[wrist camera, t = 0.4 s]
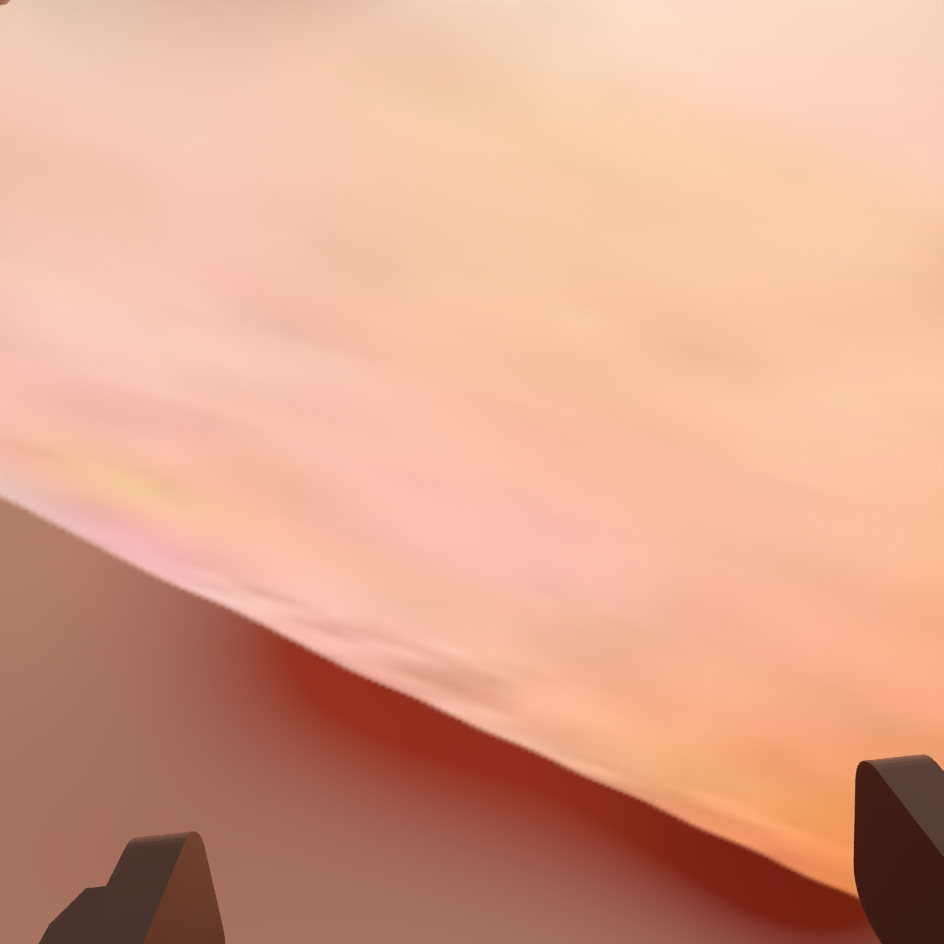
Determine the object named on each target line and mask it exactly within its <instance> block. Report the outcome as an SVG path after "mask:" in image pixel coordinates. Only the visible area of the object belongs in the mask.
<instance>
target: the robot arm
mask: <svg viewBox="0 0 944 944" xmlns="http://www.w3.org/2000/svg"><path fill="white" fill-rule="evenodd" d="M854 876H855V882H856V887H857V891H858V895H859V899H860V902H861V905H862V907H863V910H864V912H865V915H866V917H867V919H868V921H869V923H870V925H871V927H872V928H873V930H874V932H875V934H876V935H877V937H878V939H879V940H880V942H881V944H944V771H943V770H942V769H941V767H940V766H939V765H938V764H937V763H936V762H935V761H934V760H933V759H932V758H930V757H929V756H927V755H913V756H904V757H895V758H885V759H876V760H867V761H862V762H860V764H859V765H858V767H857V771H856V779H855V823H854ZM39 944H225V936H224V930H223V926H222V921H221V917H220V913H219V908H218V904H217V899H216V895H215V891H214V886H213V882H212V878H211V874H210V869H209V865H208V860H207V856H206V852H205V847H204V844H203V841H202V838H201V837H200V835H199V834H198V833H197V832H194V831H193V832H184V833H175V834H166V835H156V836H148V837H138V838H133V839H132V840H131V841H130V842H129V843H128V844H127V846H126V848H125V850H124V851H123V853H122V856H121V857H120V859H119V861H118V864H117V866H116V868H115V869H114V871H113V874H112V875H111V877H110V879H109V881H108V884H107V885H106V886H104V887H95V888H86V889H85V890H84V891H83V892H82V893H81V894H80V895H79V896H78V897H77V898H76V899H75V900H74V901H73V902H72V903H71V904H70V905H69V906H68V907H67V908H66V909H65V910H64V911H63V912H62V913H61V914H60V915H59V916H58V917H57V918H56V919H55V920H54V921H52V922H51V924H49V926H48V928H47V930H46V932H45V934H44V935H43V937H42V939H41V941H40V943H39Z"/></svg>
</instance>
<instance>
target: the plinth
mask: <svg viewBox="0 0 944 944" xmlns="http://www.w3.org/2000/svg"><path fill="white" fill-rule="evenodd" d="M9 1H10V0H0V5H2V4H7V3H8V2H9Z"/></svg>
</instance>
